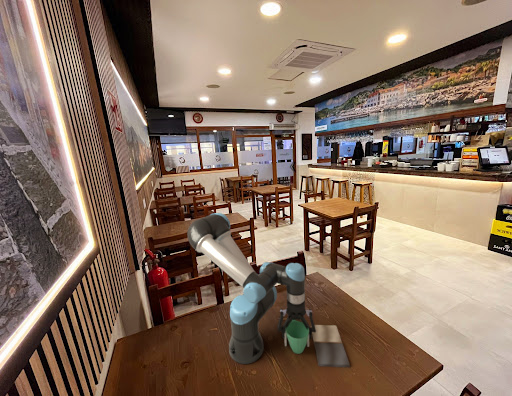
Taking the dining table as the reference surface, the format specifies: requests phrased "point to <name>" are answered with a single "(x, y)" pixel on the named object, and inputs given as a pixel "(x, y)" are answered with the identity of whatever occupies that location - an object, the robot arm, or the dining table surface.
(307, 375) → the dining table surface
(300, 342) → the mug
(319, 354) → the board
